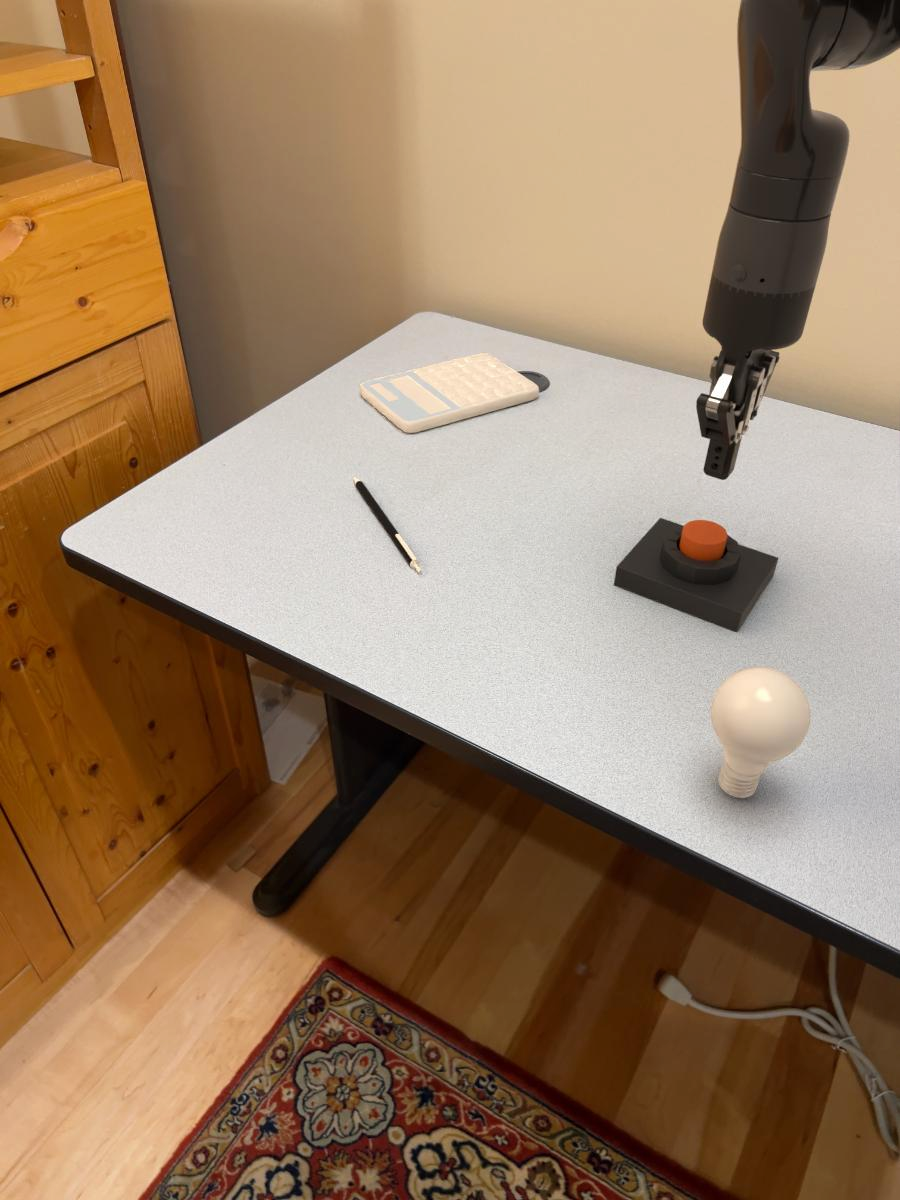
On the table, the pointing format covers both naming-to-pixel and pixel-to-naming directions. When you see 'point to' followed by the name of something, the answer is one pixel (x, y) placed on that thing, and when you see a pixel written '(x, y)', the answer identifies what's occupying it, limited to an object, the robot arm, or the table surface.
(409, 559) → the pen
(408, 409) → the calculator
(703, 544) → the button
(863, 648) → the table surface
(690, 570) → the housing
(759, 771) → the lightbulb
